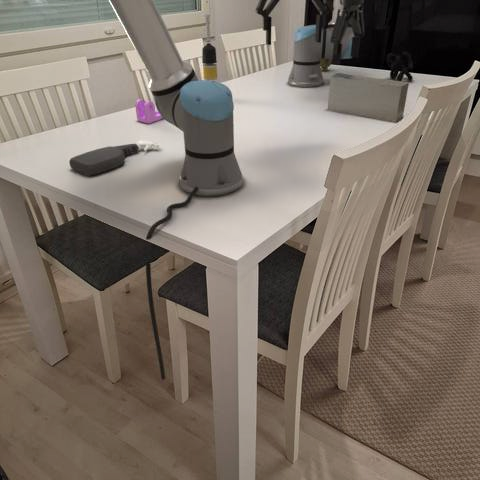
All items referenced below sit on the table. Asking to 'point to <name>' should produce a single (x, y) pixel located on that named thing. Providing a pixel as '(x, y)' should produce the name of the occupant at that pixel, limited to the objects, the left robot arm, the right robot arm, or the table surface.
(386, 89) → the box
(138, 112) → the bracket
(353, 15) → the right robot arm
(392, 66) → the squiggle
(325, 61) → the cup
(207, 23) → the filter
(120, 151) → the spray bottle
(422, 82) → the table surface
